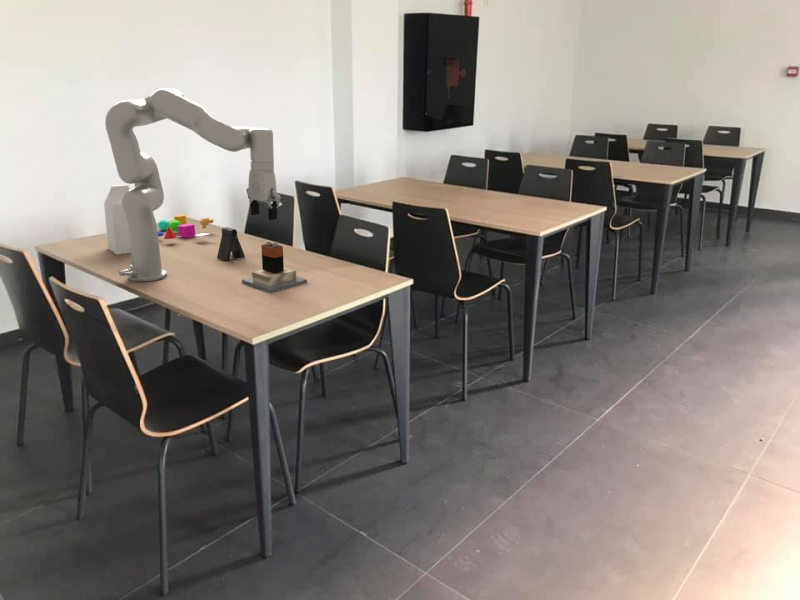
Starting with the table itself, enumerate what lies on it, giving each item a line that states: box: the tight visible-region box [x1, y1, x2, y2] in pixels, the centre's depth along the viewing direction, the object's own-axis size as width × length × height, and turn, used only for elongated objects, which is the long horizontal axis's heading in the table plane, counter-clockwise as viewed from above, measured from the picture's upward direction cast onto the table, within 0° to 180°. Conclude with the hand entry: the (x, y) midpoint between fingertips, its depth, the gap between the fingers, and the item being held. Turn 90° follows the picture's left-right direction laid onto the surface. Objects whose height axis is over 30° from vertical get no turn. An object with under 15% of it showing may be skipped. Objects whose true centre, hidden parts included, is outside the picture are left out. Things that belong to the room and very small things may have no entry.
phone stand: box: [216, 226, 246, 262], centre depth 247 cm, size 9×6×12 cm, turn 140°
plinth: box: [251, 266, 297, 286], centre depth 220 cm, size 12×9×3 cm
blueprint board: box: [241, 275, 308, 294], centre depth 221 cm, size 16×16×1 cm
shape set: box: [157, 214, 214, 240], centre depth 279 cm, size 29×35×7 cm
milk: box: [103, 184, 131, 255], centre depth 253 cm, size 12×12×26 cm
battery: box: [260, 241, 285, 273], centre depth 218 cm, size 4×7×10 cm, turn 51°
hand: (263, 217), depth 215 cm, fingers open, 9 cm apart
